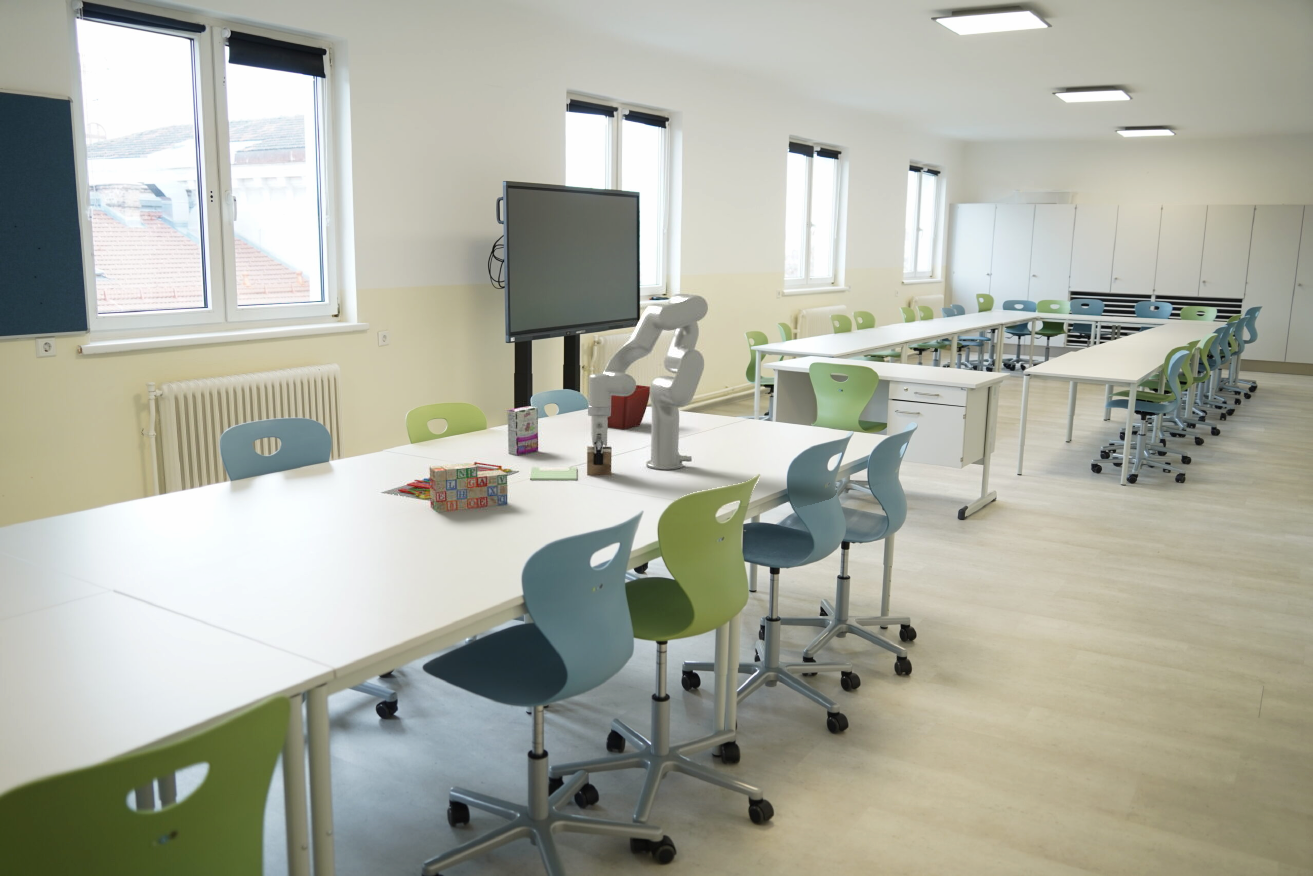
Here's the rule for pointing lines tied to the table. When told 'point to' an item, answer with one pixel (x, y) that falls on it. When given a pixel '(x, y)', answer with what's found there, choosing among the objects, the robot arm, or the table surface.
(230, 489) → the table surface
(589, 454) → the walnut slab
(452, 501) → the stack of blocks
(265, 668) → the table surface
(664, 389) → the robot arm
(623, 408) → the plant pot
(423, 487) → the gear board
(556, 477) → the green mat
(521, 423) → the candy bar box
